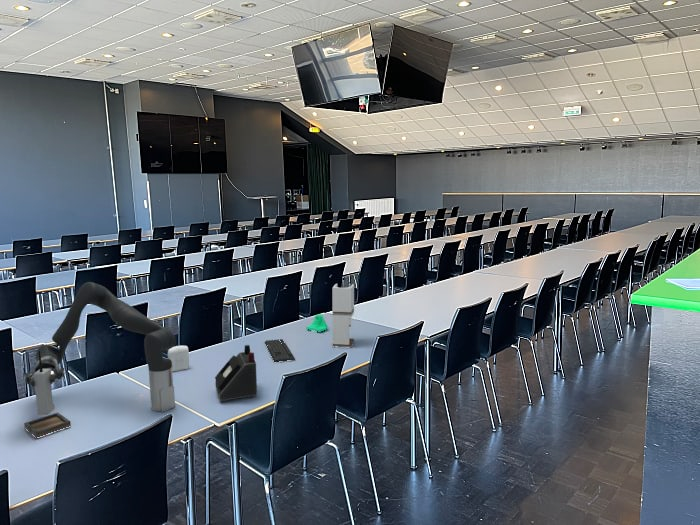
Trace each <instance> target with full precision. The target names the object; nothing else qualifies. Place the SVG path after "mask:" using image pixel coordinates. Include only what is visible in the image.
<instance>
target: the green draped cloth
mask: <svg viewBox="0 0 700 525" xmlns="http://www.w3.org/2000/svg"><path fill="white" fill-rule="evenodd" d="M307 329H310V330H315V331H319V332H318V333H322V332H321V331H323V332H325V331H327V330H326V329H329V327H328V324H327V322H326V320H325V318H324V317H323V314H322V313H319V314H316V315H315V316H314V320H313V321H312V324H309V325H307V326H306V330H307ZM310 330H309V331H310ZM324 330H325V331H324Z"/></svg>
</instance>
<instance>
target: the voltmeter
mask: <svg viewBox="0 0 700 525" xmlns="http://www.w3.org/2000/svg"><path fill="white" fill-rule="evenodd" d="M254 353H255V352H252V351H251V347H250V344H245V345H244V351H243V352H242V351H241V352H239V353H237V355H234V354H233V355H232V356H231V357H230V359H229V360H227V362H226V363H225V364H224V365H223V367H222V368H221V369H220V370H219V372H218V373H217V374H216V375H215V377H214V379H215V383H214V384H215V389H216V393H217V395H218V396H217V397H218V399H219V401H221V402H222V403H226V402H227V401H228V400H235V399H238V398H239V399H240V398H246V397H248V398H251V399H252V398H254V397H255V396H257V395H258V383H257V382H258V381H257V378H258V377H257V362H256V360H255V354H254Z"/></svg>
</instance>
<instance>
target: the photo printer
mask: <svg viewBox="0 0 700 525" xmlns="http://www.w3.org/2000/svg"><path fill="white" fill-rule="evenodd" d="M189 352H190V351H189V347H188V346H187V345H176V346H175V345H174V346H173V347H172V348H171V349H169V350H167V358H168V359H170V360H171V361H172V373H173V372H178V371H183V370H188V369H190V356H189V355H190V354H189Z"/></svg>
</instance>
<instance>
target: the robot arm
mask: <svg viewBox="0 0 700 525" xmlns="http://www.w3.org/2000/svg"><path fill="white" fill-rule="evenodd" d="M88 304H89V305H92V306H96V307H99V308H100V309H101V310H104V311H105V312H107V313H108V314H109V317H110V318H111V320H112V321H113V322H114V323H115V324H116V325H118V326H120V328H122V329H124V330H127V331H129V332H132V333H137V334H140V335H141V334H142V335H145V337H144V340H143V342H144V343H143V346H144V348H143V349H144V354H145V361H146V365H147V367H148V377H149V378H148V379H149V381H148V382H149V391H150V392H149V394H150V409H151V410H153V411H155V412H166V411H168V410H172V409H173V408H176V400H175V399H176V398H175V397H176V396H175V386H174V378H173V377H174V376H173V372H172V361H171V360H170V359H168V357H164V356H163V353H164V352H166V351H167V352H168V350H169V349H171V348H172V347H175V345H176V336H175V335H174V333H173V332H172V331H171V330H169V329H168V328H167V327H166V326H163V325H161V324H159V323H158V322H156V321H154V320H152V319H150V318H149V317H147V316H146V315H145V314H143V313H142V312H140V311H138V309H136V308H135V307H133V306H132V305H130V304H128V303H126V302H125V301H123V300H121V299H119V298H118V297H117V296H116V295H115V294H113V293H112V292H111V291H110V290H109V289H108V288H106V286H103V285H101V284H99V283H95V282H92V281H88V282H87V281H86V282H85V283H83V284H82V285H81V286H80V288H79V289H78V290H77V293H76V295H75V296H74V299H73V301H72V302H71V305H70V308H69V309H68V311H67V314H66V316H65V318H64V319H63V321H61V324H60V325H59V326H58V327H57V330H56V331H55V332H54V333H53V335H52V337H51V339H52V342H54V344H56V345H57V346H59V348H58V347H57V348H56V347H54V346H53V345H49V344H46V343H45V344H42V345H40V346H39V347H38V348H37V350H36V352H35V359H36V361H37V362H36V364H35V369H34V370H33V372H32V373H29V372H25V373H23V375H24V381H25V383H26V385H29V384H30V387H31V386H32V388H33V387H34V388H35V382H34V373H36V372H37V371H39V370H40V367H39V354H38V351H40V355H41V363H42V369H51V376H50V384H51V385H52V384H53V383H55V381H56V380H61V379H63V377H64V375H65V373H66V372H65V367H61V368H59V369H58V365H59V364H61V363H62V361H63V359H64V357H65V354H66V350H67V347H68V345H69V343H70V342H71V340H72V339H73V338H74V337H75V334H76V333H77V332H78V330H79V327H80V321H81V315H82V312H83V311H84V310H85V308H86V306H87V305H88Z"/></svg>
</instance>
